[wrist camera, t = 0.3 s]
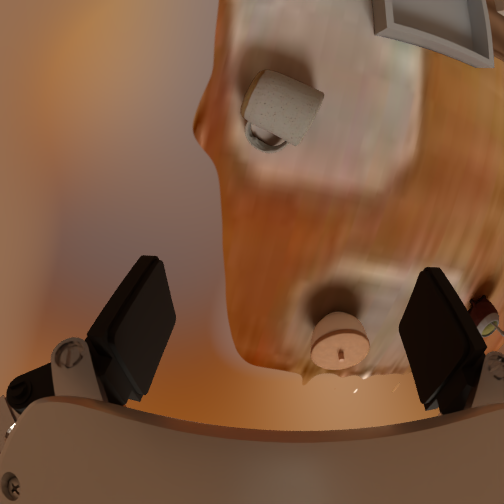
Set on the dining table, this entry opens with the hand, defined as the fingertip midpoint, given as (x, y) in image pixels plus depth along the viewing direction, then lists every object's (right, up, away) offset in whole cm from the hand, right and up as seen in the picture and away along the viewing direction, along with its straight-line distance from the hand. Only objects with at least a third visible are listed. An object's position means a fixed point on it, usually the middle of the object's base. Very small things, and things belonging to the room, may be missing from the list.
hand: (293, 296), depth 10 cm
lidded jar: (+15, -12, +42) cm, 46 cm away
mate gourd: (+49, -10, +37) cm, 62 cm away
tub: (+24, +38, +10) cm, 46 cm away
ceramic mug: (+2, +20, +24) cm, 31 cm away
